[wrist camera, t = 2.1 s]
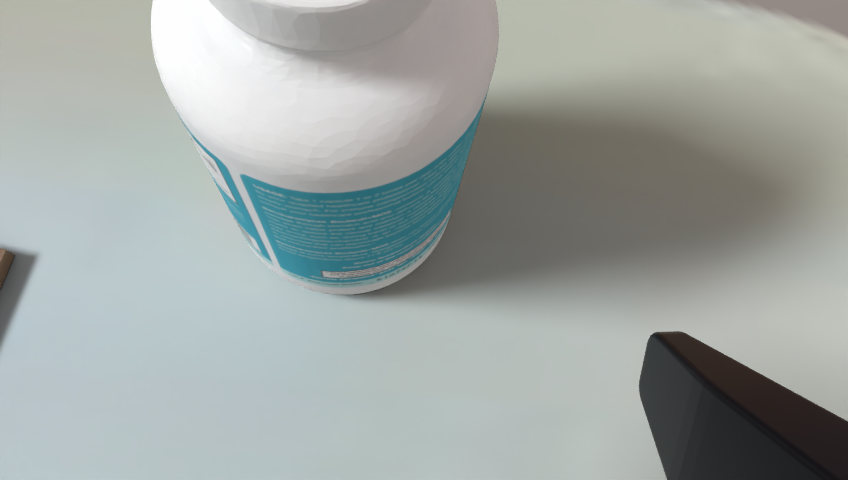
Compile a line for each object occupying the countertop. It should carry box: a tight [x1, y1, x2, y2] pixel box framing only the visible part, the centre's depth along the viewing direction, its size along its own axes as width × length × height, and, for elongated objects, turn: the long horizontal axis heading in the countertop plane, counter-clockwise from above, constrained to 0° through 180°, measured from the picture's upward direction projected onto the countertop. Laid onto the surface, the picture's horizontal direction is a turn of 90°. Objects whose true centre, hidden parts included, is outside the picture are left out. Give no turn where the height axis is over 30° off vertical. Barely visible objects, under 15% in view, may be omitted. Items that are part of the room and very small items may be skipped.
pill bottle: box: [151, 0, 499, 295], centre depth 18 cm, size 8×7×14 cm
